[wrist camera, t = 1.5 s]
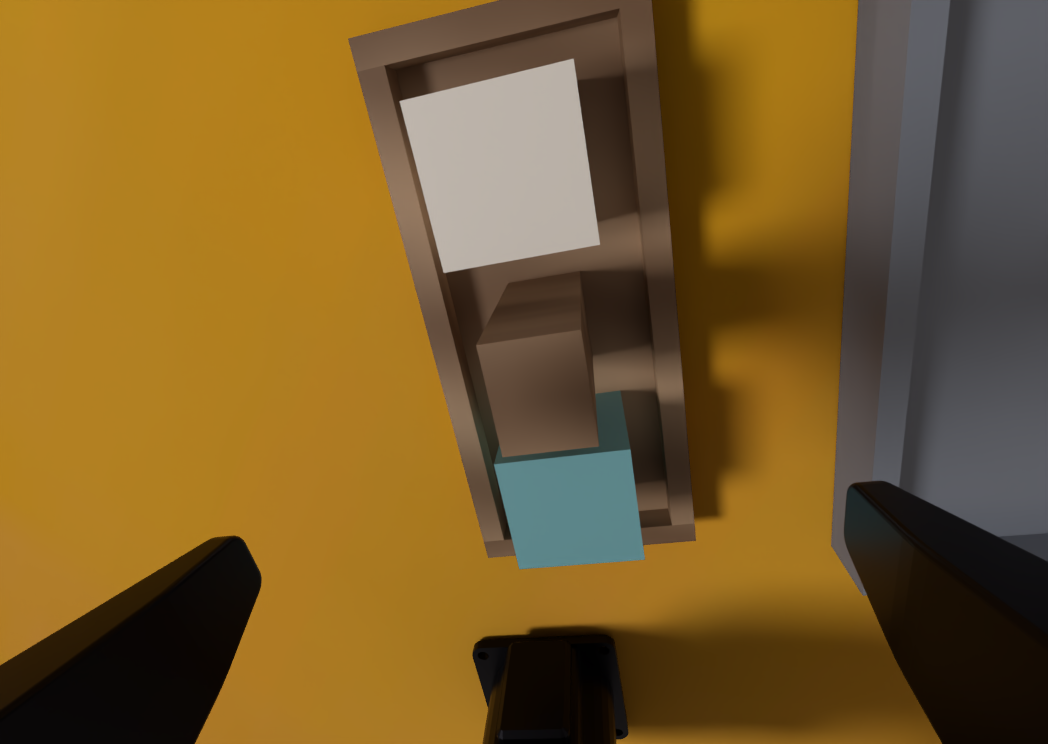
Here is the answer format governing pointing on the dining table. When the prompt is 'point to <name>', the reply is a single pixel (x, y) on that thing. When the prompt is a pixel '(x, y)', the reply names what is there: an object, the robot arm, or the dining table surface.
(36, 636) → the dining table surface
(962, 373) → the tray
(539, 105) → the cream block
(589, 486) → the teal block
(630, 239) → the caddy
